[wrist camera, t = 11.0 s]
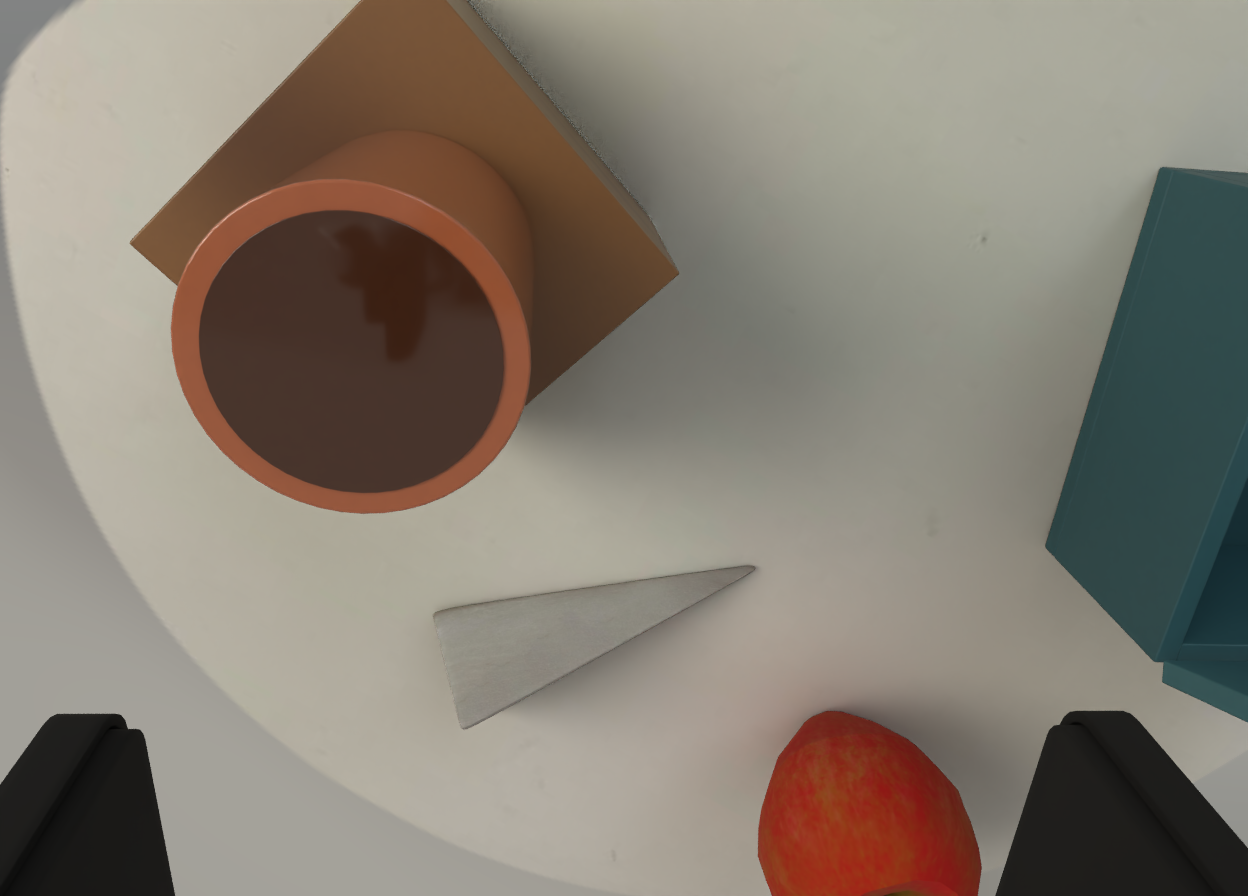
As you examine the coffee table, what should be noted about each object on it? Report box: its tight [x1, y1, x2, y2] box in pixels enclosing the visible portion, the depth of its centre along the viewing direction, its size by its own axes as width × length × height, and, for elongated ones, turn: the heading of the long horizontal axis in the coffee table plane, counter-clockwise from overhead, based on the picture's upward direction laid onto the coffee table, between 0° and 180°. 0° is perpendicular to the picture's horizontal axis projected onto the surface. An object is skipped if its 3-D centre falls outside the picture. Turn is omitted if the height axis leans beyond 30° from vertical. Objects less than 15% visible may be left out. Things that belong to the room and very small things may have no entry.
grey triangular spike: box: [433, 566, 755, 729], centre depth 38 cm, size 6×5×13 cm
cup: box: [171, 130, 535, 514], centre depth 20 cm, size 6×6×8 cm
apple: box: [758, 711, 982, 896], centre depth 37 cm, size 9×8×11 cm
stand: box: [130, 0, 679, 406], centre depth 28 cm, size 10×10×8 cm
